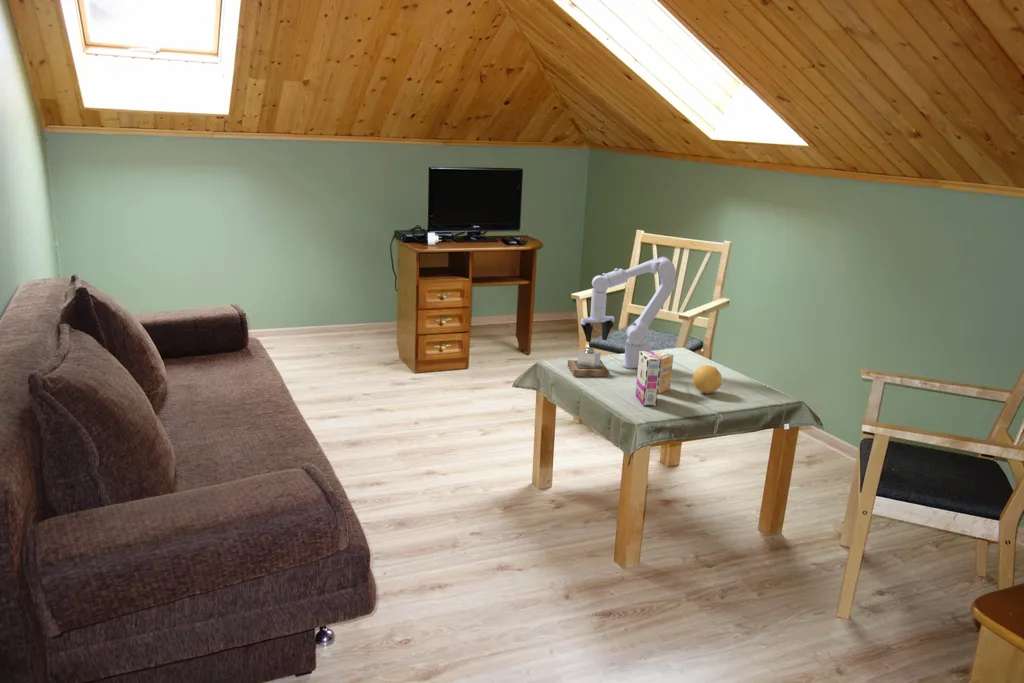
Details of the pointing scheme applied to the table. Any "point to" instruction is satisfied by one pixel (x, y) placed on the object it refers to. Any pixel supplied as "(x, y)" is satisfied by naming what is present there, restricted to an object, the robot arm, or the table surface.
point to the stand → (587, 369)
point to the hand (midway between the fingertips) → (596, 340)
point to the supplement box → (665, 371)
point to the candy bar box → (648, 378)
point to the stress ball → (707, 379)
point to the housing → (589, 358)
